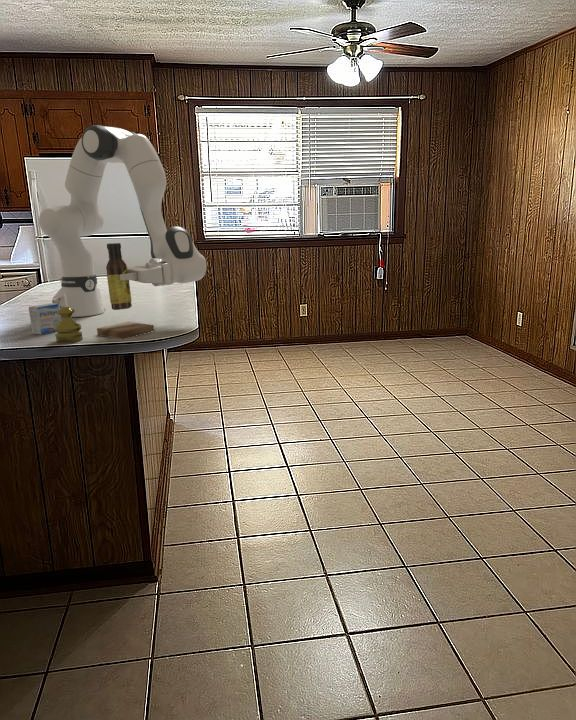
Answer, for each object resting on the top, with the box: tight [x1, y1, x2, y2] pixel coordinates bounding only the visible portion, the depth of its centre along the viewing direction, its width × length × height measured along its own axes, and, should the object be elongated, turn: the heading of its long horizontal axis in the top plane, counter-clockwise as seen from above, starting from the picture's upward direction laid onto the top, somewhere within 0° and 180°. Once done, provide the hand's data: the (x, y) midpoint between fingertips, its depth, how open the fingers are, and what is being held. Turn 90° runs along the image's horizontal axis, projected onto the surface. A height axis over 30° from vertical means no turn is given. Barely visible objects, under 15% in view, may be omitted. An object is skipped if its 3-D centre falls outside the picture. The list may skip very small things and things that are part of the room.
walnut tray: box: [96, 321, 155, 340], centre depth 173 cm, size 12×12×2 cm
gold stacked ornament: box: [54, 307, 84, 344], centre depth 165 cm, size 7×7×10 cm
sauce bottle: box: [105, 242, 133, 311], centre depth 171 cm, size 6×6×20 cm
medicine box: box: [28, 302, 62, 336], centre depth 178 cm, size 8×4×9 cm, turn 148°
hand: (115, 276), depth 171 cm, fingers closed on sauce bottle, 6 cm apart
